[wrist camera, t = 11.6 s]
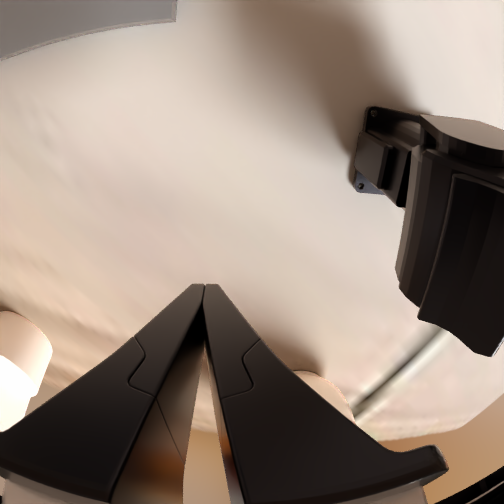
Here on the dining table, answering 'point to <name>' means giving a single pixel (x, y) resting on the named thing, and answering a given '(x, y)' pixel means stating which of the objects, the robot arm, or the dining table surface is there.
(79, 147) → the dining table surface
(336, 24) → the dining table surface
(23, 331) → the cream cylindrical piece
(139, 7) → the slate board
